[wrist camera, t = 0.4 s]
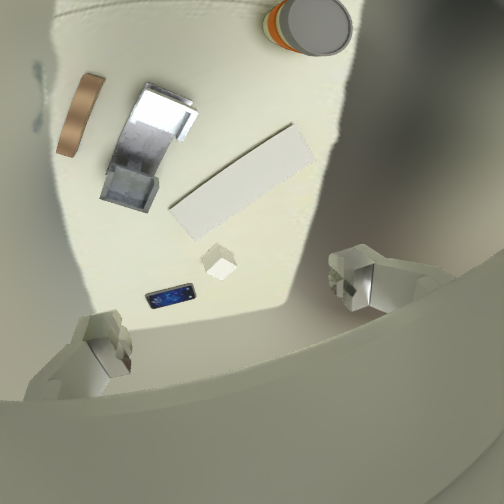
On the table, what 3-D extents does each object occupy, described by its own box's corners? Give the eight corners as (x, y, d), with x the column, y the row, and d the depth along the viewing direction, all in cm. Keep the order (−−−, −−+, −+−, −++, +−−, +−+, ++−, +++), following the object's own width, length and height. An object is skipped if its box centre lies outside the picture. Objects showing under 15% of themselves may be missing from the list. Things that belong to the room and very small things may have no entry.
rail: (88, 73, 36) (83, 74, 33) (105, 78, 38) (102, 80, 36) (61, 146, 43) (55, 152, 40) (77, 151, 45) (72, 157, 43)
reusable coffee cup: (320, 21, 42) (364, 20, 31) (293, 63, 48) (333, 71, 37) (272, -9, 35) (309, -23, 24) (242, 35, 41) (272, 31, 30)
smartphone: (197, 298, 84) (151, 310, 81) (196, 296, 85) (151, 307, 82) (192, 283, 79) (144, 295, 76) (191, 281, 80) (143, 293, 77)
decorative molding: (170, 204, 65) (195, 233, 69) (168, 210, 60) (195, 241, 65) (288, 122, 60) (308, 156, 65) (294, 124, 56) (315, 160, 61)
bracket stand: (147, 81, 42) (144, 88, 33) (192, 100, 47) (201, 112, 39) (106, 171, 51) (97, 199, 42) (147, 185, 56) (148, 214, 48)
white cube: (231, 252, 77) (237, 266, 73) (216, 265, 79) (222, 280, 75) (216, 242, 73) (221, 257, 69) (201, 257, 75) (205, 272, 71)
